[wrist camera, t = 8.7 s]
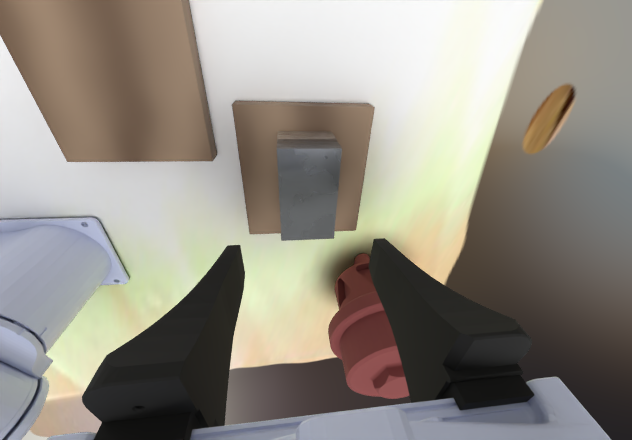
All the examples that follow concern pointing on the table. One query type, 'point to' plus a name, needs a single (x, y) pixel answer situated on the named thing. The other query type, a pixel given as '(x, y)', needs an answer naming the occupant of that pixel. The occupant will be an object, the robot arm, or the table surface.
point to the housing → (308, 183)
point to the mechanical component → (365, 336)
